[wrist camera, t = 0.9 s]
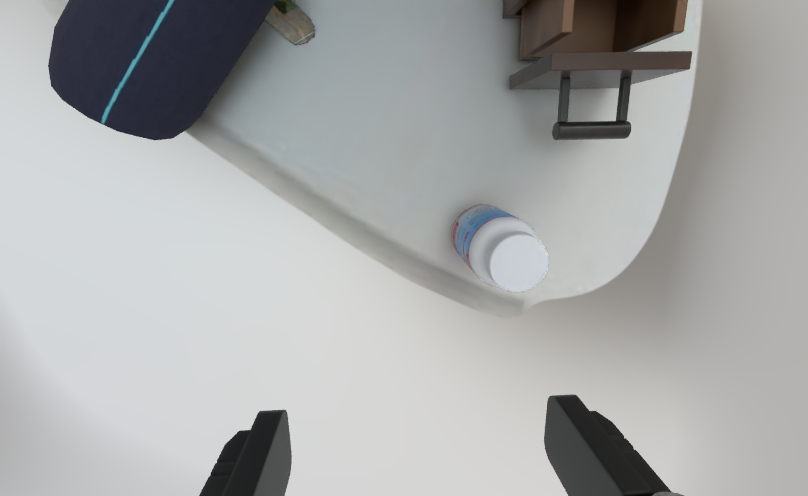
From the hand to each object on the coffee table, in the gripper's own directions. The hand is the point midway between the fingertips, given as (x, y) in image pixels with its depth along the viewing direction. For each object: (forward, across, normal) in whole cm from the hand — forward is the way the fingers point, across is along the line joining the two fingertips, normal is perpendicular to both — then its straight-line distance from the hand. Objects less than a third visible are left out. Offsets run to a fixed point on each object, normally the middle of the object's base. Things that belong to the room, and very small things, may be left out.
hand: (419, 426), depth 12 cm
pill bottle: (+29, -9, +1) cm, 30 cm away
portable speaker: (+24, +10, -17) cm, 31 cm away
